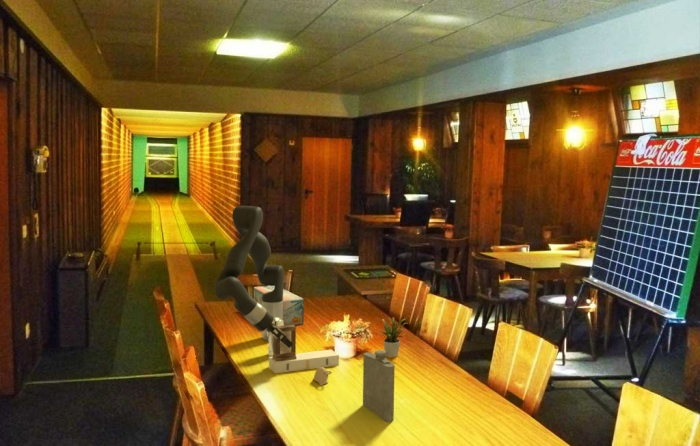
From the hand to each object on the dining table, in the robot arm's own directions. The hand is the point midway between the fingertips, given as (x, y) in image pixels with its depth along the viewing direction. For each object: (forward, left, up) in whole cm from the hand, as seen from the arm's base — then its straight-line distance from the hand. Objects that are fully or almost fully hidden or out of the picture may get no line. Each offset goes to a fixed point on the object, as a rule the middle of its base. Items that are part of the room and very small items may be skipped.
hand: (287, 342), depth 244 cm
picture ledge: (-5, +5, -10) cm, 12 cm away
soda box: (-72, -40, -10) cm, 83 cm away
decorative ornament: (+9, +18, -10) cm, 23 cm away
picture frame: (+1, -1, -6) cm, 6 cm away
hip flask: (+28, +46, -10) cm, 55 cm away
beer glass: (-14, -12, -10) cm, 21 cm away
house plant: (-32, +34, -10) cm, 47 cm away
